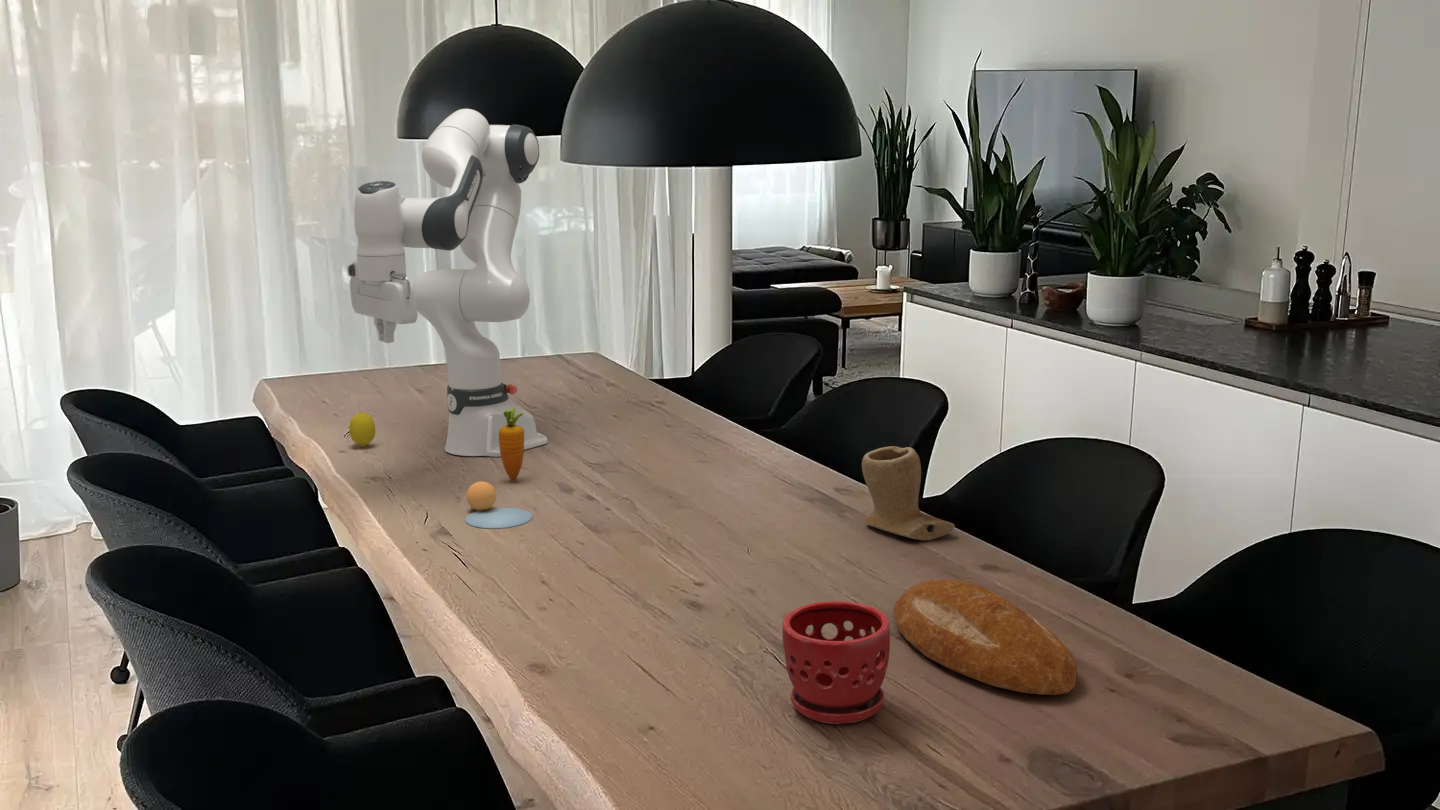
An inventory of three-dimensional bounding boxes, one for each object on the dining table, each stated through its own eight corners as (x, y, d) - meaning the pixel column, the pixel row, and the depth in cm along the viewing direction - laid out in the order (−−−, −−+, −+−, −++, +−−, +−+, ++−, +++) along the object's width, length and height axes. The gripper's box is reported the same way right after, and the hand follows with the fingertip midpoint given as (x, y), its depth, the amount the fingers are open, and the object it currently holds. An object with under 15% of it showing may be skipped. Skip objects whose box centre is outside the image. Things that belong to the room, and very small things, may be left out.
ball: (498, 476, 249) (504, 504, 247) (483, 485, 252) (489, 513, 251) (473, 478, 245) (479, 506, 244) (458, 487, 249) (464, 515, 247)
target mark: (509, 504, 252) (509, 503, 252) (545, 519, 243) (545, 518, 243) (453, 517, 244) (452, 516, 244) (487, 533, 235) (487, 532, 235)
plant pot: (795, 681, 175) (796, 594, 172) (896, 693, 171) (898, 605, 169) (770, 725, 163) (770, 633, 160) (877, 739, 159) (879, 645, 156)
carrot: (512, 476, 271) (509, 403, 267) (531, 480, 268) (528, 407, 264) (495, 482, 267) (492, 408, 263) (513, 486, 264) (510, 411, 260)
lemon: (369, 450, 291) (367, 415, 289) (346, 449, 292) (343, 413, 290) (380, 444, 296) (378, 409, 294) (357, 443, 297) (355, 408, 296)
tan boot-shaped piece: (846, 527, 237) (848, 445, 234) (897, 515, 244) (899, 435, 241) (904, 550, 225) (906, 464, 222) (956, 537, 232) (959, 453, 228)
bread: (1002, 717, 165) (1005, 650, 163) (857, 619, 197) (858, 561, 195) (1115, 691, 172) (1120, 626, 170) (958, 600, 204) (960, 544, 202)
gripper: (423, 273, 247) (427, 347, 250) (372, 263, 262) (377, 333, 266) (392, 276, 243) (397, 351, 246) (342, 266, 258) (347, 337, 262)
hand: (386, 341), depth 256 cm, fingers closed
